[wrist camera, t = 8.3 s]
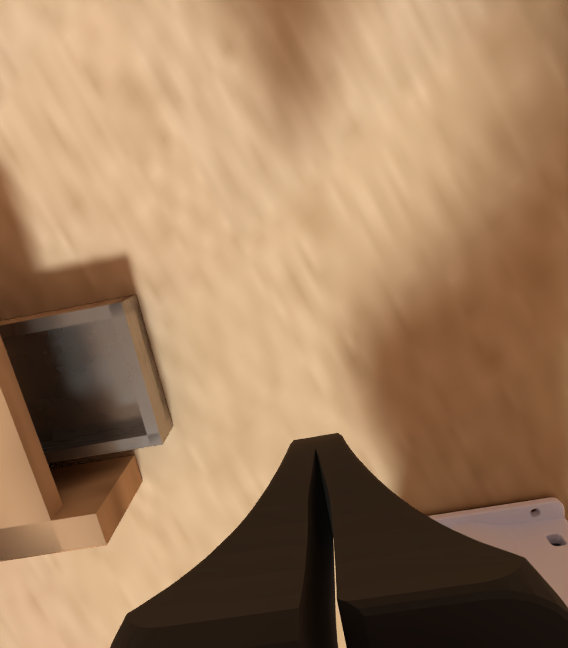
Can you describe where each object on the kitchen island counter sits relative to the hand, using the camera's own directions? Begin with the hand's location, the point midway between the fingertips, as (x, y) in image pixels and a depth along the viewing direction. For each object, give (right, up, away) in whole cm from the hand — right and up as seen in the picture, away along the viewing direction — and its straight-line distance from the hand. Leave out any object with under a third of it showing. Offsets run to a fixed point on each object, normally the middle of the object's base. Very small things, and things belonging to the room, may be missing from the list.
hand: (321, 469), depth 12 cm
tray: (-12, +1, +10) cm, 16 cm away
